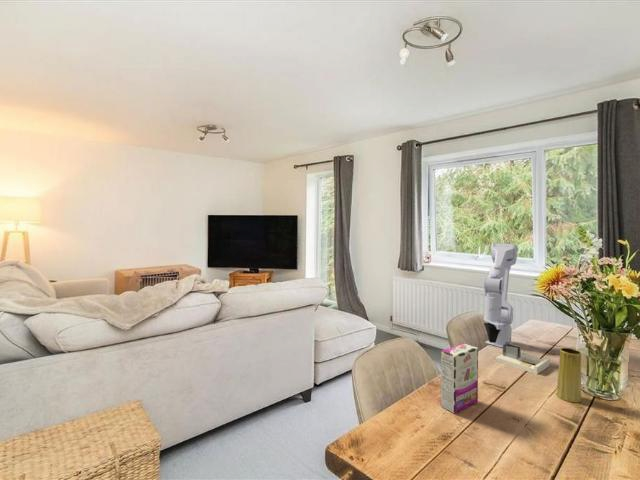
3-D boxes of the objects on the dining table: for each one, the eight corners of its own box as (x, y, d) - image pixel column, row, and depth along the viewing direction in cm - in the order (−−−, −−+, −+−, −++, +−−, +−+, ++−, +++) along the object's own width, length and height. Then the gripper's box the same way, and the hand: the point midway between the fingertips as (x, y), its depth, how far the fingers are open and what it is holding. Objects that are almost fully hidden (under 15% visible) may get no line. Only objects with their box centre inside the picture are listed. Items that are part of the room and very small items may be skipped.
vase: (572, 392, 105) (574, 347, 104) (586, 403, 99) (588, 355, 98) (551, 391, 105) (553, 346, 105) (564, 402, 99) (565, 354, 98)
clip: (507, 352, 133) (507, 340, 133) (520, 356, 129) (521, 344, 129) (502, 355, 130) (502, 343, 130) (516, 359, 126) (516, 346, 126)
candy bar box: (462, 395, 103) (463, 342, 102) (478, 403, 99) (479, 347, 98) (439, 406, 97) (440, 350, 96) (454, 415, 92) (455, 355, 92)
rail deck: (509, 353, 136) (509, 347, 136) (549, 365, 125) (550, 358, 125) (495, 361, 129) (495, 354, 128) (537, 374, 118) (537, 367, 117)
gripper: (512, 313, 127) (510, 349, 128) (496, 304, 141) (495, 336, 142) (492, 312, 128) (491, 348, 128) (478, 303, 142) (478, 335, 143)
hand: (492, 342), depth 135 cm, fingers closed
